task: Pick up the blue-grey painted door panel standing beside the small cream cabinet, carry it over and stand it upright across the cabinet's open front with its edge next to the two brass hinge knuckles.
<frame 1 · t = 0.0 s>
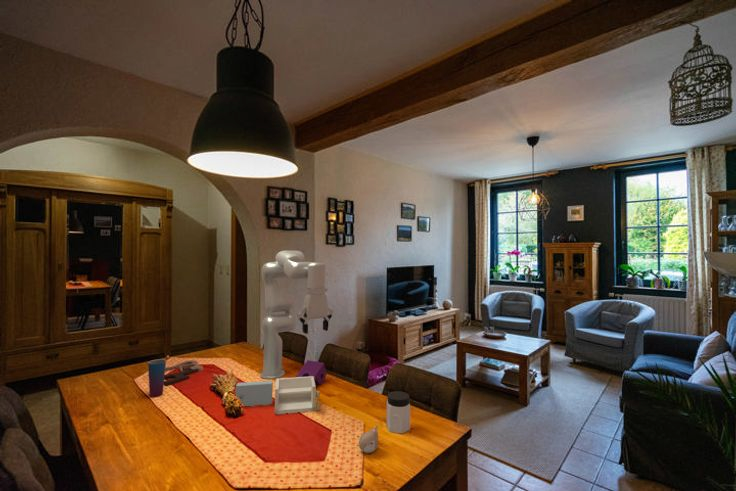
hand: (315, 331, 145), 31 cm above the table, tool pointing down, fingers open, 9 cm apart
cup: (156, 395, 152), on the table
jar: (398, 428, 126), on the table
cabinet: (294, 406, 143), on the table
garlic bulb: (368, 451, 111), on the table
wood carving: (181, 374, 180), on the table
mounting bracket: (307, 386, 165), on the table
door: (254, 404, 144), on the table
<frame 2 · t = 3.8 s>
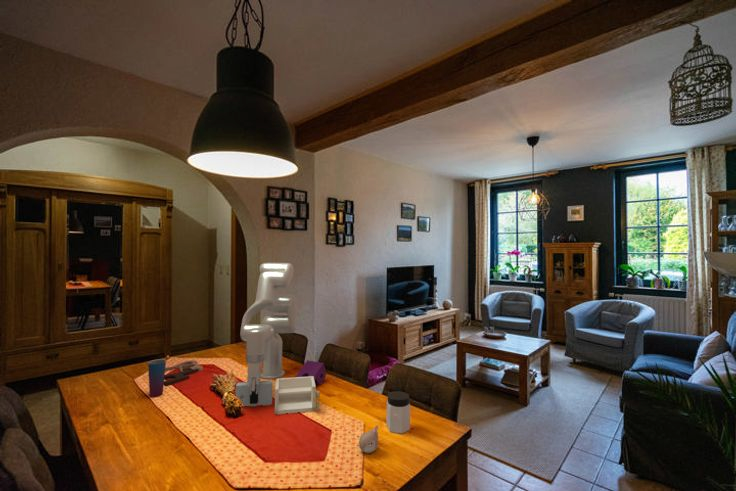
hand: (254, 400, 144), 2 cm above the table, tool pointing down, fingers closed on door, 3 cm apart
door: (254, 404, 144), on the table, touching gripper
everything else where it was.
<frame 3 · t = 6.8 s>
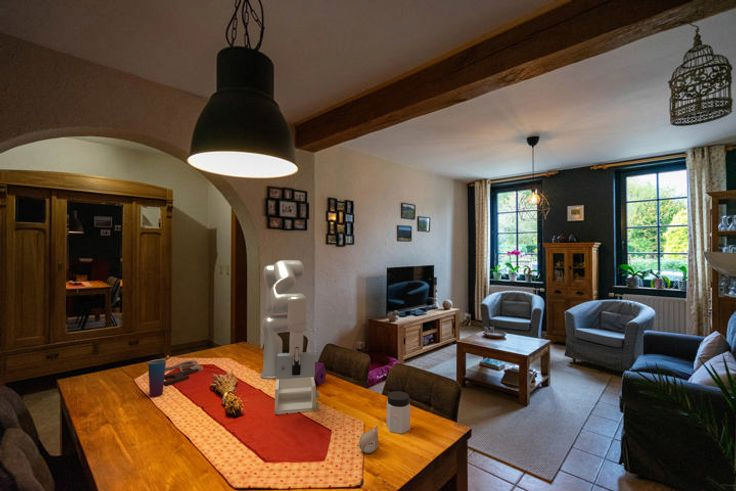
hand: (296, 372, 135), 17 cm above the table, tool pointing down, fingers closed on door, 3 cm apart
door: (295, 376, 135), point 15 cm above the table, touching gripper
everything else where it was.
when the fingers open (2 cm above the table, at t = 9.7 s): door stays where it is, on the table.
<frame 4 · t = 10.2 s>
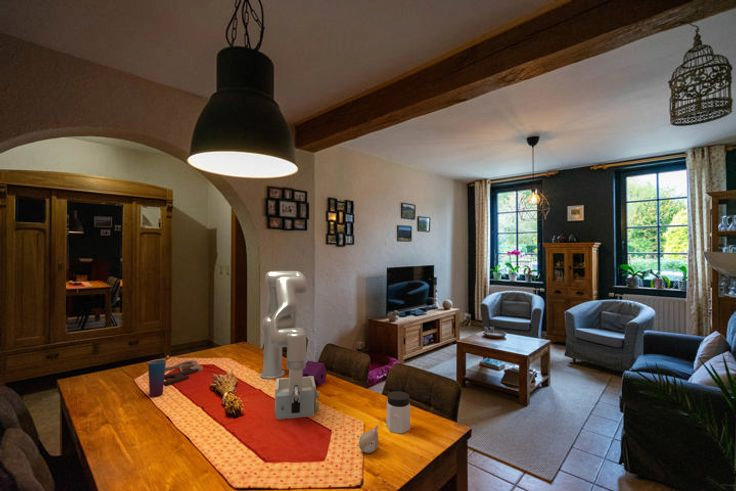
hand: (295, 407, 134), 3 cm above the table, tool pointing down, fingers open, 8 cm apart
door: (295, 415, 135), on the table
everything else where it was.
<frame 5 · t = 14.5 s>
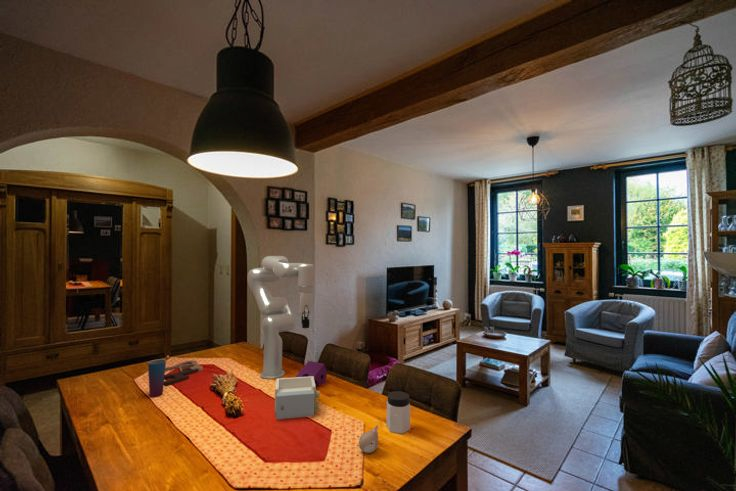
hand: (305, 325, 160), 30 cm above the table, tool pointing down, fingers open, 9 cm apart
nothing on the table moved.
at the end: door 0.3 cm from the target spot on the cabinet, point 0.0 cm above the cabinet's base; door tilted 0°; the gripper is holding nothing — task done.
